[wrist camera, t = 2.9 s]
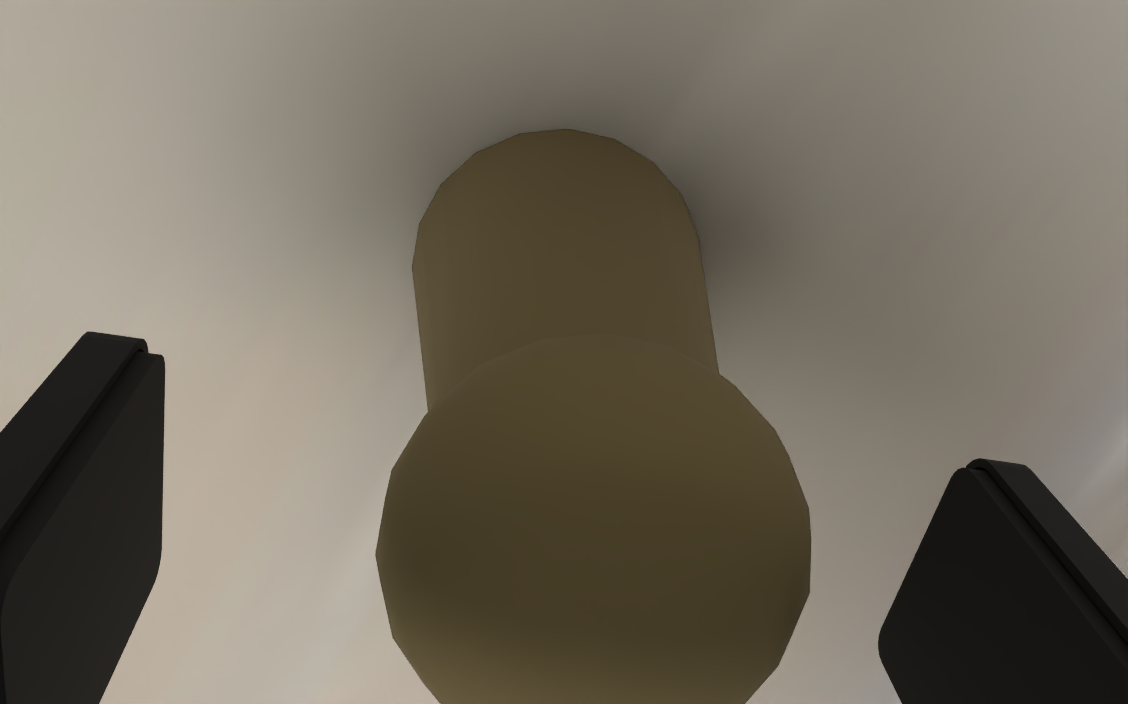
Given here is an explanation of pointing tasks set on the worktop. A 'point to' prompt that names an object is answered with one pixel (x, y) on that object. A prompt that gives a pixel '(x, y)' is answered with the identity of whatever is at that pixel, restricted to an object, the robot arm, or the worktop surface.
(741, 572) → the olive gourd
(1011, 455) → the worktop surface
